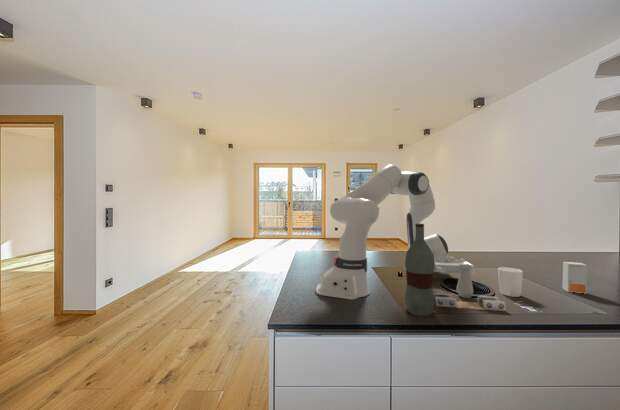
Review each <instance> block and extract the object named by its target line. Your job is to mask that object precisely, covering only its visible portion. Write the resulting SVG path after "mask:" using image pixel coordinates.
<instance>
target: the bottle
mask: <svg viewBox="0 0 620 410" xmlns="http://www.w3.org/2000/svg"><path fill="white" fill-rule="evenodd" d="M415 225H416V237H415V241H414V242H413V243H412V245H411V246H410V248H409V249H408V248H407V251H406V254H405V260H404V262H405V263H404V264H405V273H406V274H405V275H406V287H405V294H404V300H405V308H406V311H407V312H408V313H410V314H411V315H415V316H419V317H428V316H431V315H432V314H433V313H434V308H435V304H436V302H435V301H434V293H435V292H434V288H433V284H434V273H435V272H434V267H435V262H434V256H433V253H432V251H431V250H430V248H429V247H428V245H427V243H426V242H425V240H424V237H425V223H419V224H415Z"/></svg>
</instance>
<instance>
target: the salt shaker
mask: <svg viewBox="0 0 620 410" xmlns="http://www.w3.org/2000/svg"><path fill="white" fill-rule="evenodd" d="M459 269H461V270H460V273H459V276H458V280H457V284H456V291H457V293H458V294H457V295H459V297H461V298H463V299H465V298H466V299H470V298H472V295H473V294H474V287H473V282H472V276H471V275H472V274H470V270H471V265H470V264H467V263H460V264H459Z"/></svg>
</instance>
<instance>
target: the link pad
mask: <svg viewBox="0 0 620 410" xmlns="http://www.w3.org/2000/svg"><path fill="white" fill-rule="evenodd" d="M456 309H462V310H463V309H465V310H478V311H479V310H481V311H485V310H484V309H483V306H482V305H479V304H478V302H475V301H460V300H458V301H457V300H456Z"/></svg>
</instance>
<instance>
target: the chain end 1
mask: <svg viewBox="0 0 620 410" xmlns="http://www.w3.org/2000/svg"><path fill="white" fill-rule="evenodd" d="M433 293H434V301H435V306H436V307H439V308H440V307H442V308H443V307H444V308H456V309H457V307H456V301H457V298H455V297H453V294H451V293H443V292H441V293H439V292H433Z"/></svg>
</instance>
